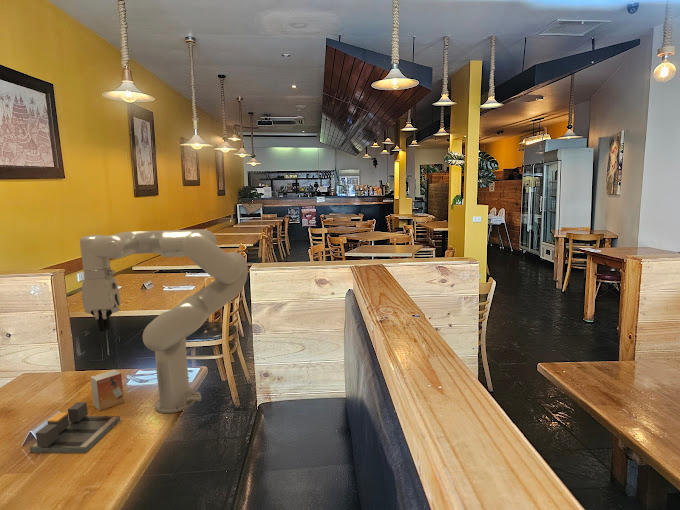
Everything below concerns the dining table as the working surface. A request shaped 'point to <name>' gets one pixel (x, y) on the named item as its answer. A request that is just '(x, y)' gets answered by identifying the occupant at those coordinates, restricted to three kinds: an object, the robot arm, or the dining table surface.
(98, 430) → the panel
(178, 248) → the robot arm
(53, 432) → the block
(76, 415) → the breaker
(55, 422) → the block
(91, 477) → the dining table surface
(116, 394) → the small box
